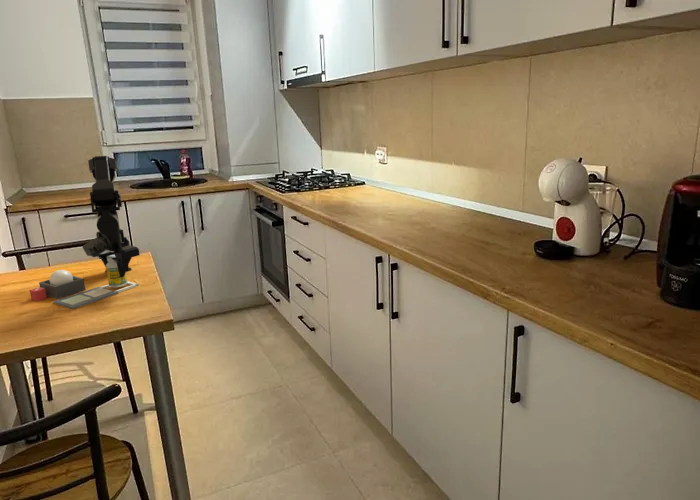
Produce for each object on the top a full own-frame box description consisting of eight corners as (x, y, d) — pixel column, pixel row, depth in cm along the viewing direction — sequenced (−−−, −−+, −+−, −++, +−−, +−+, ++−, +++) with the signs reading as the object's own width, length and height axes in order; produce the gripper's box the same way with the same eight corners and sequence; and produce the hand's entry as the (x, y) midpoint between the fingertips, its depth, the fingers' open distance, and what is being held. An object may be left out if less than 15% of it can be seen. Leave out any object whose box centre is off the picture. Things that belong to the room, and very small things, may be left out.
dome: (67, 284, 165) (64, 265, 163) (80, 288, 161) (76, 268, 159) (45, 291, 159) (41, 271, 157) (58, 294, 155) (54, 274, 154)
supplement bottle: (126, 281, 166) (122, 252, 164) (127, 286, 162) (123, 256, 159) (108, 283, 164) (104, 255, 161) (109, 288, 159) (104, 259, 157)
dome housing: (69, 285, 166) (67, 274, 165) (85, 289, 162) (83, 278, 161) (27, 298, 156) (25, 286, 155) (43, 303, 151) (41, 291, 150)
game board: (120, 281, 169) (120, 279, 169) (140, 286, 164) (139, 283, 164) (53, 303, 151) (53, 300, 151) (73, 309, 146) (72, 306, 146)
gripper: (66, 230, 156) (75, 278, 160) (103, 236, 146) (111, 288, 151) (100, 222, 165) (107, 268, 169) (137, 228, 156) (144, 277, 160)
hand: (116, 275), depth 162 cm, fingers closed on supplement bottle, 5 cm apart
